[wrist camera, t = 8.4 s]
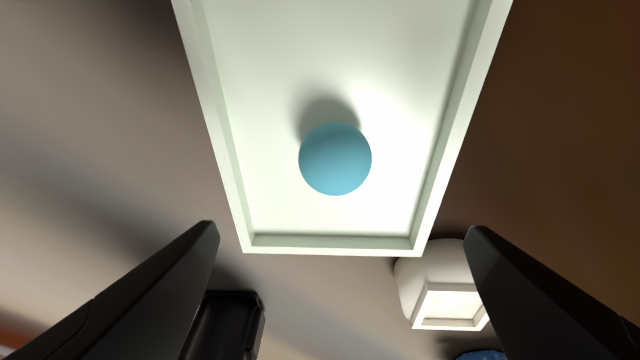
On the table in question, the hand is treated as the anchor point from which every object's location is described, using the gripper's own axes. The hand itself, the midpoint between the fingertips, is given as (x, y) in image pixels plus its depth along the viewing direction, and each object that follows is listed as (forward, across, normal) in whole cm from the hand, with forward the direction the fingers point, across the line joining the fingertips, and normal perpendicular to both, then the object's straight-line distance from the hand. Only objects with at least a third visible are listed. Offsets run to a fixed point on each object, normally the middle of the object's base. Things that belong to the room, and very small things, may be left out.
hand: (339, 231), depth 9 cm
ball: (+8, 0, 0) cm, 8 cm away
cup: (+8, -10, +13) cm, 18 cm away
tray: (+8, 0, 0) cm, 8 cm away
